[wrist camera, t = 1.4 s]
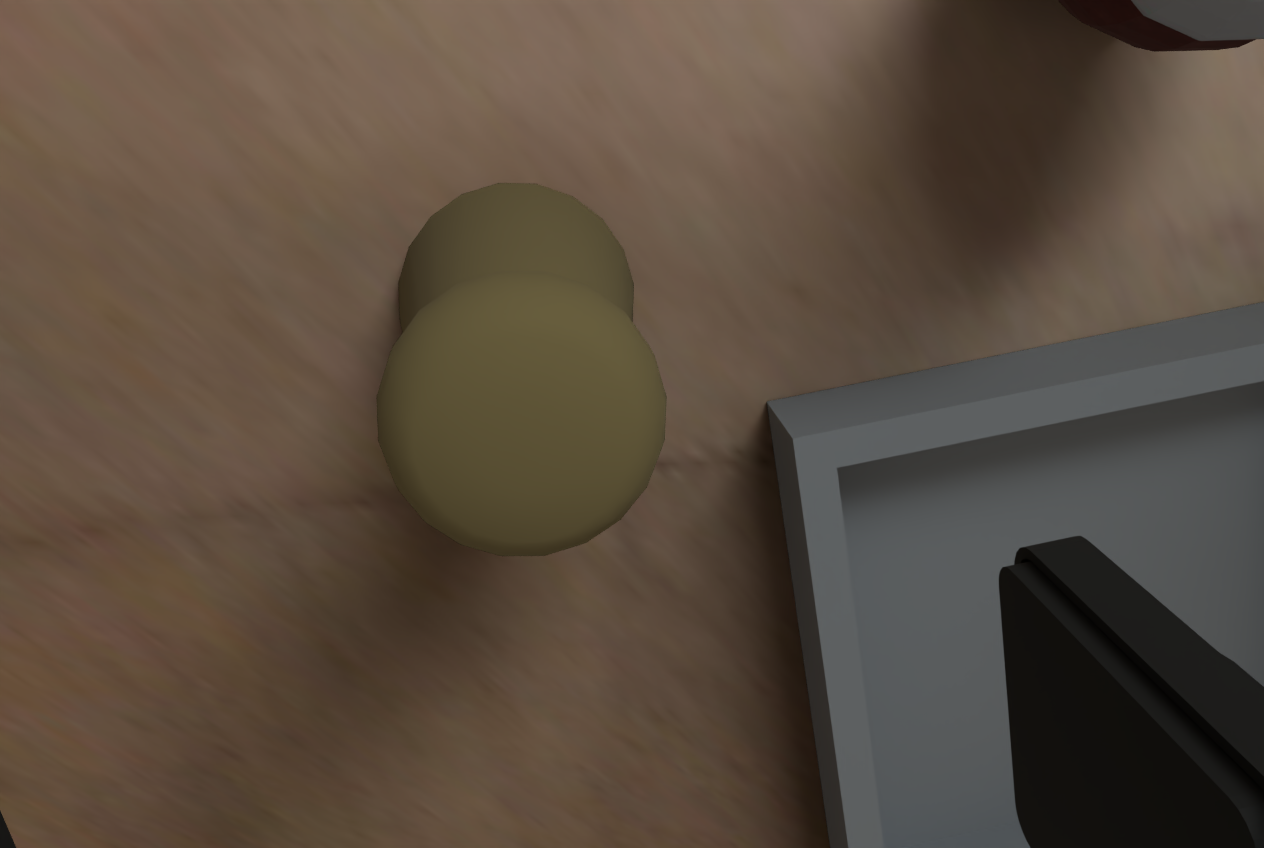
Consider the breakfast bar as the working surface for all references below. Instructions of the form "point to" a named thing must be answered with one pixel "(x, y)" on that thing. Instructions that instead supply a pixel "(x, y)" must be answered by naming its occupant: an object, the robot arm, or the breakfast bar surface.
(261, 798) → the breakfast bar surface
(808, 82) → the breakfast bar surface
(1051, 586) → the robot arm
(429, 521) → the cork
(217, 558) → the breakfast bar surface
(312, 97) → the breakfast bar surface
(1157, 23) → the mate gourd
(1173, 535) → the tray
